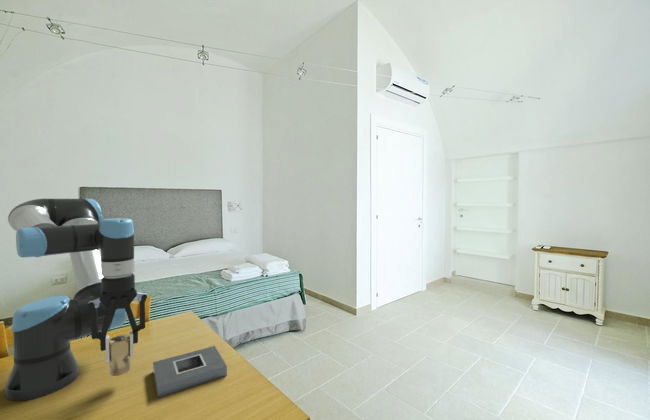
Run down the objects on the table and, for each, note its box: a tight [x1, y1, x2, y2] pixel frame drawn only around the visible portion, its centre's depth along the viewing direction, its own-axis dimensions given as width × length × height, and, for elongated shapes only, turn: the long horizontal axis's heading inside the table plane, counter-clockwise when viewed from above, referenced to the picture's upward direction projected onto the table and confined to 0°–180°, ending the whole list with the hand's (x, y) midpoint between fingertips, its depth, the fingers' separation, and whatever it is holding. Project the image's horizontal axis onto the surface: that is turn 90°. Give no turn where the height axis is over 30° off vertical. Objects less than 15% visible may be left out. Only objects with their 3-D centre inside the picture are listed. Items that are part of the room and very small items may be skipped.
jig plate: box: [152, 345, 228, 399], centre depth 90 cm, size 14×18×3 cm
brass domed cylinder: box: [109, 334, 132, 377], centre depth 83 cm, size 5×5×9 cm
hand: (120, 357), depth 83 cm, fingers closed on brass domed cylinder, 5 cm apart
